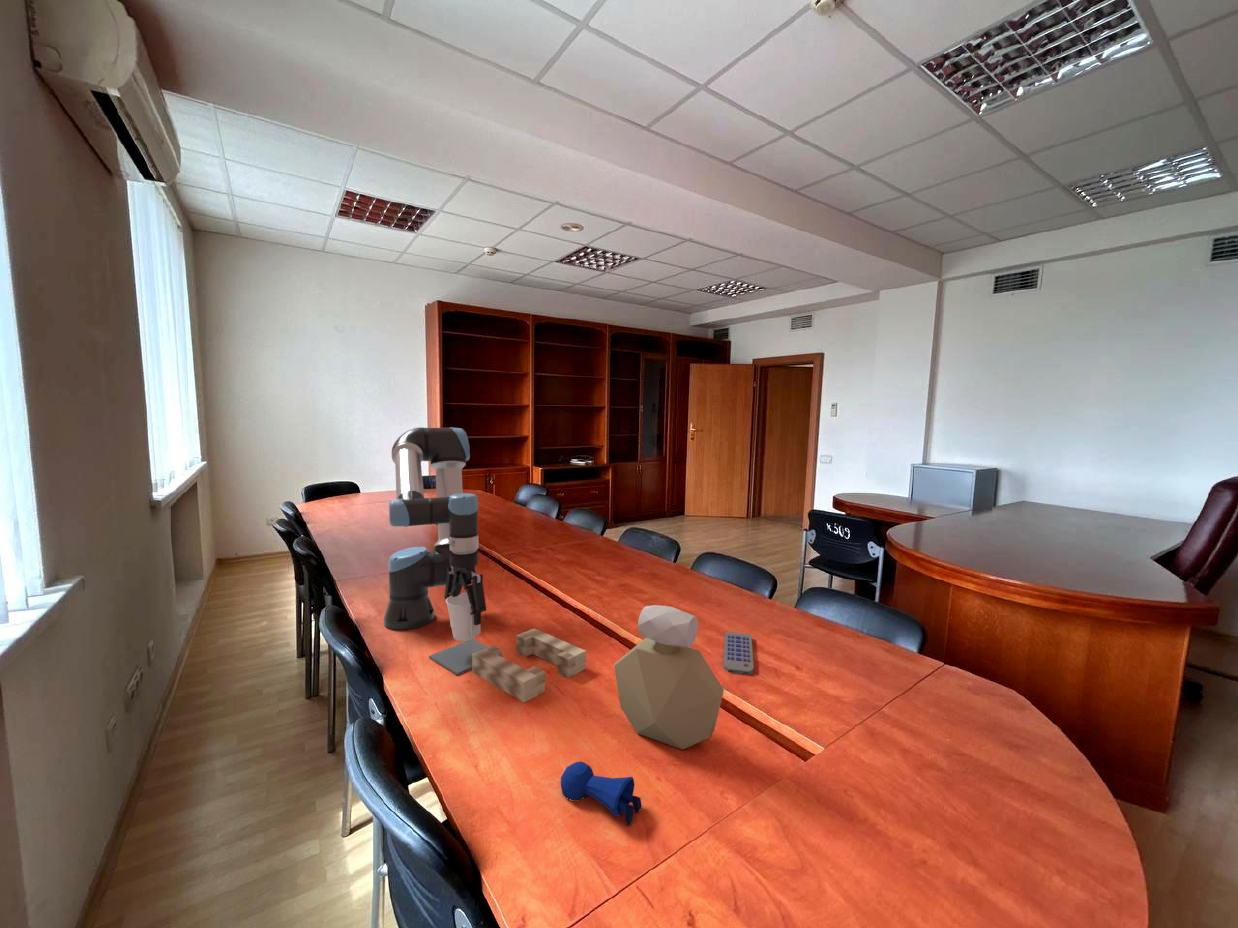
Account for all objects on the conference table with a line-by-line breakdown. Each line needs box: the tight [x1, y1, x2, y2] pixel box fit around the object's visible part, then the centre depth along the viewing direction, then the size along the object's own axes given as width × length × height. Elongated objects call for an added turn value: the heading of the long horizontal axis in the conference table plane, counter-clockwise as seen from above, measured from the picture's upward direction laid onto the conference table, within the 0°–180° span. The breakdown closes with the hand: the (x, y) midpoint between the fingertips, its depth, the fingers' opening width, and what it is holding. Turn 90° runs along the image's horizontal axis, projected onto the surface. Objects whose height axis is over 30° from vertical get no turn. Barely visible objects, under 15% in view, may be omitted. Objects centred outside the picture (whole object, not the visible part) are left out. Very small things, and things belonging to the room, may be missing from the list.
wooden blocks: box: [471, 627, 587, 703], centre depth 129 cm, size 21×21×5 cm
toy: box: [560, 761, 643, 826], centre depth 86 cm, size 7×6×15 cm
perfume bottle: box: [613, 604, 725, 751], centre depth 103 cm, size 12×24×28 cm, turn 61°
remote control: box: [723, 631, 755, 676], centre depth 140 cm, size 8×23×2 cm, turn 166°
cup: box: [445, 592, 476, 643], centre depth 135 cm, size 10×10×11 cm
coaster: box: [428, 638, 488, 676], centre depth 136 cm, size 14×14×1 cm
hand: (465, 630), depth 135 cm, fingers closed on cup, 9 cm apart
